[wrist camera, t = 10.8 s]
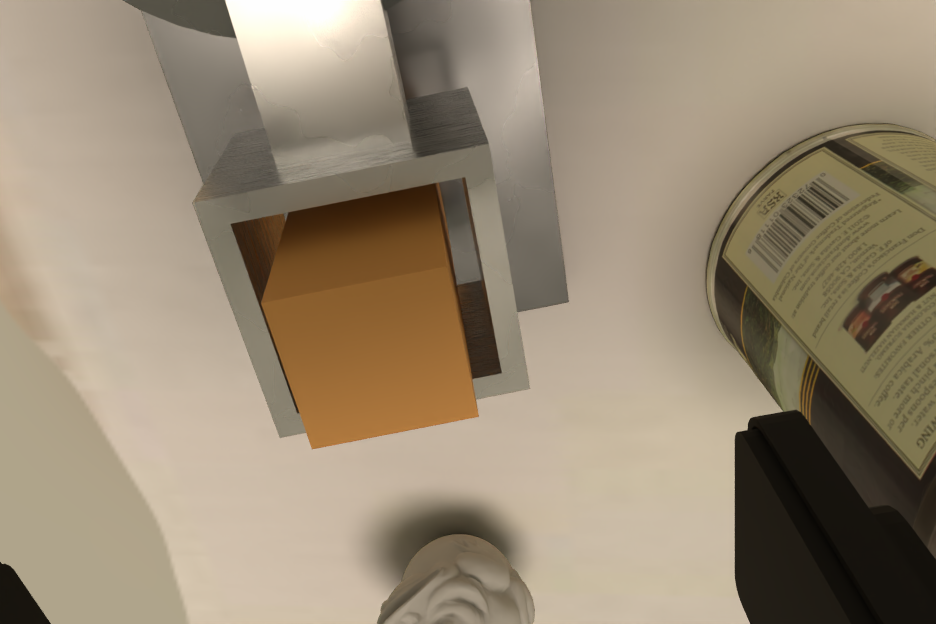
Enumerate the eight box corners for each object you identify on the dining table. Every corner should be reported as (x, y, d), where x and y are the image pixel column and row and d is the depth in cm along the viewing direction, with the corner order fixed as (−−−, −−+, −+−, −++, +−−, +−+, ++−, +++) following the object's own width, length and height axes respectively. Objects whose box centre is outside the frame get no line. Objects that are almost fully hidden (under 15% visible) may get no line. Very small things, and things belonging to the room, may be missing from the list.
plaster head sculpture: (424, 471, 33) (432, 605, 27) (552, 536, 35) (586, 673, 29) (346, 562, 35) (337, 705, 29) (472, 617, 38) (488, 761, 31)
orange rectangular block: (311, 136, 25) (261, 303, 15) (424, 113, 25) (447, 266, 15) (340, 240, 26) (312, 449, 17) (446, 219, 26) (478, 416, 17)
